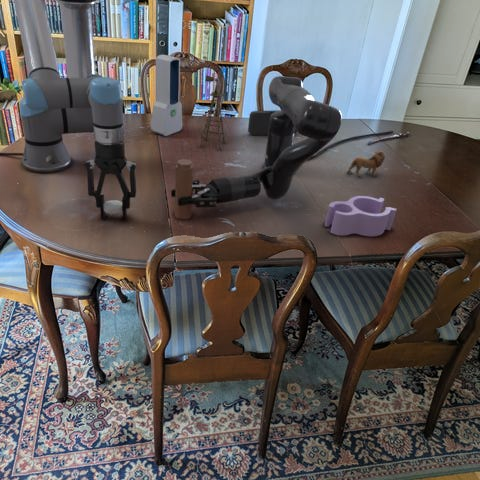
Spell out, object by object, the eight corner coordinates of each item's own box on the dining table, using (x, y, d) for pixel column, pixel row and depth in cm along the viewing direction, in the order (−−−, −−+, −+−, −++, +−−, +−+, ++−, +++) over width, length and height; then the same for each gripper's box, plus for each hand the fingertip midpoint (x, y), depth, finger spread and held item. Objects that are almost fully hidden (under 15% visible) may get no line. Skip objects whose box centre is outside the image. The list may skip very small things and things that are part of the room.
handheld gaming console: (295, 131, 210) (298, 109, 204) (297, 134, 208) (301, 111, 202) (247, 133, 203) (249, 110, 197) (249, 135, 201) (251, 112, 195)
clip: (337, 240, 135) (342, 219, 131) (318, 218, 145) (322, 198, 141) (395, 233, 141) (402, 213, 137) (373, 213, 151) (378, 194, 147)
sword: (406, 132, 223) (406, 130, 222) (411, 134, 221) (412, 132, 220) (362, 144, 207) (363, 141, 206) (368, 146, 205) (368, 143, 204)
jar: (175, 219, 137) (176, 165, 127) (174, 211, 141) (175, 158, 131) (192, 219, 138) (194, 165, 128) (190, 211, 142) (192, 158, 132)
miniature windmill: (220, 150, 184) (225, 71, 167) (199, 146, 185) (203, 68, 168) (225, 142, 191) (231, 66, 175) (205, 139, 192) (209, 63, 176)
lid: (113, 202, 136) (112, 198, 135) (127, 208, 134) (127, 203, 133) (99, 209, 132) (98, 205, 131) (114, 216, 130) (113, 211, 129)
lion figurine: (375, 170, 181) (381, 148, 176) (383, 176, 177) (389, 153, 172) (342, 172, 176) (348, 150, 171) (350, 178, 172) (355, 156, 167)
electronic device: (164, 137, 190) (164, 60, 174) (149, 132, 193) (148, 56, 177) (182, 129, 199) (184, 56, 183) (169, 125, 202) (169, 52, 186)
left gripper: (69, 143, 118) (78, 222, 130) (143, 147, 120) (145, 225, 132) (75, 133, 124) (83, 209, 136) (146, 137, 126) (147, 212, 139)
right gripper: (218, 168, 145) (166, 175, 138) (239, 188, 135) (184, 197, 127) (216, 190, 149) (166, 197, 142) (237, 211, 139) (183, 220, 131)
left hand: (114, 217), depth 134 cm, fingers closed on lid, 5 cm apart
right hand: (175, 197), depth 135 cm, fingers closed on jar, 5 cm apart
